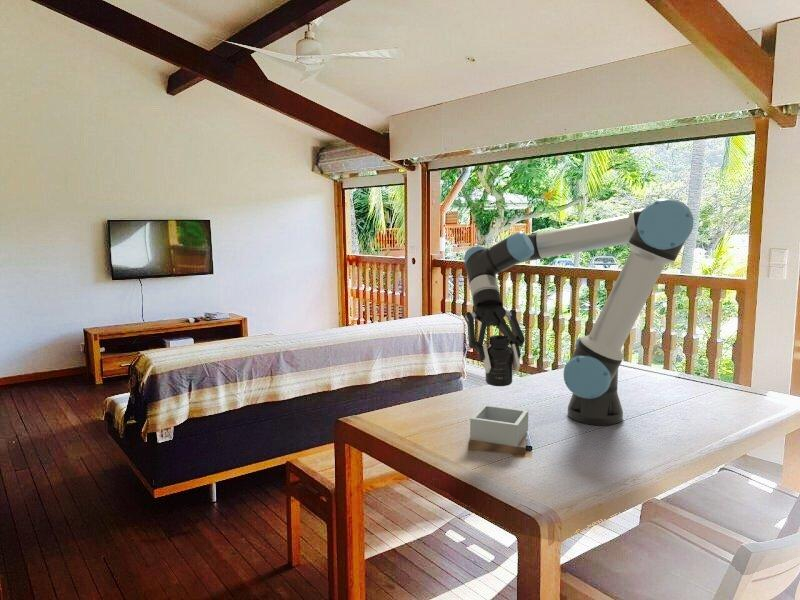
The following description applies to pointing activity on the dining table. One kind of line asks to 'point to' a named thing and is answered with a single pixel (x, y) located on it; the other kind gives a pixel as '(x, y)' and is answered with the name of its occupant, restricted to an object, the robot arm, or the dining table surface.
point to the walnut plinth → (497, 446)
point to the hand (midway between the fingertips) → (503, 369)
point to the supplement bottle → (500, 361)
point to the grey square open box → (499, 425)
